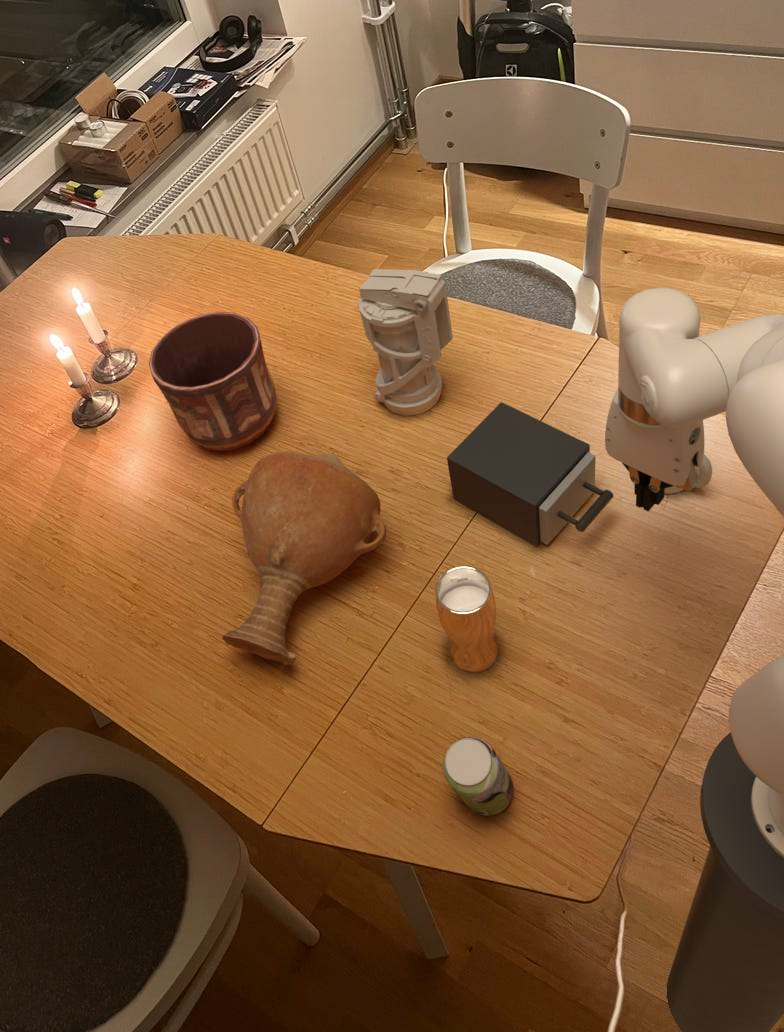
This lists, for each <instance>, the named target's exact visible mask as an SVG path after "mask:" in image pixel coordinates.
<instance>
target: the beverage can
mask: <svg viewBox="0 0 784 1032" xmlns="http://www.w3.org/2000/svg"><path fill="white" fill-rule="evenodd" d="M442 769H443V774H444V777H445V780H446V781H447V783H448V784H449V785H450V786H451V788H452V789H453V790H454V792H455V793H456V794H457V795H458V797H459V798H460V799H461V800H462V801H463V803H464V804H465V805H466V806H467V808H469V809H470V810H471V812H474V813H475V814H478V815H481V816H489V817H490V816H495V815H497V814H500V813H501V812H503V811H504V810H505V809H507V807H508V806H509V804H510V803H511V801H512V798H513V794H514V784H513V780H512V776H511V775H510V773H509V772H508V770H507V768H506V767H505V766H504V764H503V762H502V760H501V759H500V757H499V756H498V753H497V752H496V751H495V749H494V748H493V746H492V745H491V744H489V742H487V741H486V740H484V739H482V738H479V737H475V736H465V737H462V738H459V739H457V740H455V741H454V742H453V743H451V745H449V747H448V748H447V750H446V751H445V753H444V756H443V761H442Z"/></svg>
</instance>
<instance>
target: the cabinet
mask: <svg viewBox="0 0 784 1032" xmlns="http://www.w3.org/2000/svg"><path fill="white" fill-rule="evenodd" d="M590 445H591V444H589V443H587V442H585V441H584V440H581V439H580V438H577V437H575V436H573V435H570V434H568V433H566V432H564V431H562V430H560V429H558V428H556V427H554V426H552V425H550V424H548V423H546V422H543V421H541V420H540V419H538V418H536V417H533V416H531V415H530V414H527V413H525V412H523V411H521V410H519V409H517V408H514V407H513V406H511V405H508V404H506V403H504V402H502V401H501V402H500V403H499V404H498V405H497V406H495V408H493V410H491V412H490V413H489V414H487V416H486V417H485V418H484V419H483V420H482V421H481V422H480V423H479V424H478V425H477V426H476V427H475V428H474V429H473V430H472V431H471V432H470V433H469V434H468V435H467V436H466V437H465V438H464V439H463V440H462V442H461V443H459V445H457V446H456V447H455V448H454V450H452V452H451V453H450V454H449V455H448V456H446V462H447V468H448V475H449V478H450V479H449V480H450V487H451V492H452V498H453V500H454V501H456V502H458V503H460V504H462V505H463V506H465V507H467V508H468V509H470V510H472V511H473V512H475V513H477V514H479V515H480V516H482V517H484V518H486V519H488V520H490V521H491V522H492V523H495V524H496V525H498V526H500V527H501V528H503V529H505V530H506V531H508V532H510V533H512V534H513V535H515V536H517V537H518V538H520V539H522V540H524V541H526V542H527V543H529V544H531V545H532V546H535V547H536V548H538V547H540V545H541V544H542V542H541V541H540V526H539V508H538V505H539V504H540V503H541V502H542V501H543V500H544V499H545V498H546V496H547V495H548V494H549V493H550V492H551V491H552V490H553V489H554V487H555V486H556V485H557V484H558V483H559V482H560V481H561V480H562V479H563V477H564V476H565V475H566V474H567V473H568V472H569V471H570V470H571V468H572V467H573V466H574V465H575V464H576V465H577V464H578V463H579V462H580V461H581V459H582V458H583V457H584V456H585V455H586V454H587V453H588V452H589V453H591V449H590V448H591V447H590Z"/></svg>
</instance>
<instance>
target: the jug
mask: <svg viewBox="0 0 784 1032" xmlns="http://www.w3.org/2000/svg"><path fill="white" fill-rule="evenodd" d="M242 496H243V497H242ZM241 497H242V504H241V507H240V499H241ZM231 505H232V509H233V510H234V513H235V515H236V516H237V517H238V519H239V521H240V522H241V526H242V527H241V528H242V533H243V539H244V544H245V548H246V551H247V554H248V557H249V559H250V562H252V564H253V565H254V567H255V568H256V571H257V572H258V573H259V576H260V578H261V589H260V592H259V595H258V597H257V600H256V603H255V605H254V607H253V609H252V610H251V613H250V614H249V616H248V617H247V618H246V619H245V621H244V622H243V623H242V624H241V625H240V626H239V627H238V628H236V629H233V630H230V631H228V632H225V633H224V634H223V635H222V640H223V641H224V643H225V644H226V645H228V646H231V647H233V648H237V649H239V650H242V651H245V652H247V653H250V654H254V655H256V656H259V657H261V658H263V659H265V660H271V661H274V662H280V663H282V664H283V665H285V666H286V665H291V664H294V663H295V662H296V660H297V655H296V653H294V652H292V651H291V652H290V651H288V648H287V645H286V632H287V625H288V621H289V617H290V614H291V612H292V609H293V606H294V604H295V603H296V601H297V599H298V598H299V597H300V595H301V594H302V593H303V592H305V591H307V590H308V589H312V588H316V587H319V586H322V585H324V584H327V583H329V582H330V581H332V580H333V579H335V578H336V577H338V576H339V575H340V574H342V573H343V572H345V571H346V570H347V569H348V568H349V567H350V566H351V565H352V564H353V563H354V562H355V560H356V559H357V558H358V557H359V556H360V555H362V554H365V553H369V552H371V551H373V550H375V549H377V548H378V547H379V546H381V545H382V543H383V542H384V541H385V539H386V535H387V527H386V525H385V522H384V520H383V518H382V517H381V515H380V513H381V500H380V497H379V495H378V494H377V492H376V491H375V490H374V489H373V488H372V487H371V486H370V485H369V484H368V483H367V482H366V481H365V480H363V479H362V478H361V477H360V476H358V475H357V474H356V473H354V472H353V471H351V469H349V468H348V467H347V466H346V465H345V464H344V463H343V462H342V460H341V458H340V457H339V456H338V455H336V454H335V453H332V452H331V453H330V452H328V453H322V454H309V453H307V454H306V453H302V452H296V451H275V452H271V453H269V454H267V455H265V456H262V457H260V458H259V459H258V460H257V462H256V463H255V465H254V466H253V468H252V469H251V472H250V473H249V475H248V478H247V479H246V480H245V481H243V482H242V483H241V484H240V485H238V486H237V487H236V489H235V490H234V493H233V495H232V499H231ZM375 532H376V533H377V534H378V535H377V536H376V538H375V539H374V540H373V541H370V539H371V538H372V536H373V533H375ZM369 541H370V542H369Z"/></svg>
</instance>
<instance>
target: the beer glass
mask: <svg viewBox="0 0 784 1032" xmlns="http://www.w3.org/2000/svg"><path fill="white" fill-rule="evenodd" d="M491 583H492V582H491V581H490V579H489V577H488V575H487V574H486V573H485V572H483V571H482V570H481V569H479V568H477V567H475V566H471V565H458V566H454V567H451V568H449V569H447V570H446V571H444V572H443V573H442V574H441V575H440V576H439V578H438V579H437V581H436V584H435V588H434V593H435V602H436V604H435V605H436V612H437V616H438V619H439V622H440V625H441V627H442V629H443V631H444V632H445V635H447V637H448V640H450V643H449V654H450V658H451V660H452V662H453V663H454V664H455V665H456V666H457V667H458V668H459V669H461V670H463V671H466V672H470V673H479V672H483V671H485V670H487V669H489V668H490V667H491V666H492V665H493V664H494V663H495V662H496V659H497V657H498V654H499V653H498V652H499V647H498V643H497V641H496V639H495V637H494V630H495V624H496V620H497V605H496V599H495V595H494V591H493V588H492V584H491Z"/></svg>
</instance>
